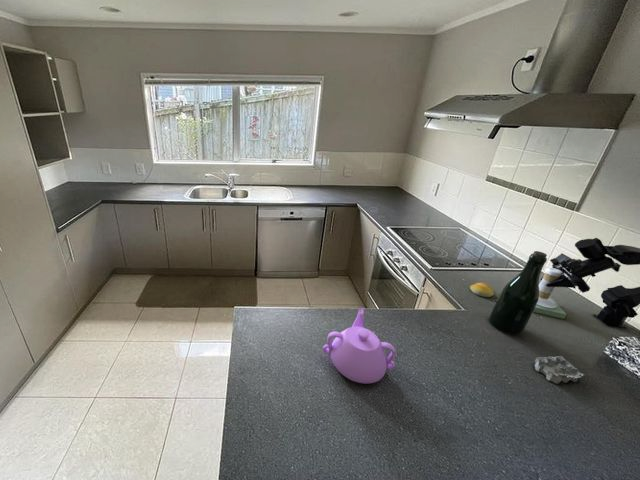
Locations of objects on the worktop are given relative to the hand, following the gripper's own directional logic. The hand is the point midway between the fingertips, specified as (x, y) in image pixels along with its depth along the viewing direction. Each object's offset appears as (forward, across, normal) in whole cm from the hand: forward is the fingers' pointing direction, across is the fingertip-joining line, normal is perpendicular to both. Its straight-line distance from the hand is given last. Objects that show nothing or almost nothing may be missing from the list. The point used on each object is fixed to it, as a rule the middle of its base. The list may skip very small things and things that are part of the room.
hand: (543, 282), depth 119 cm
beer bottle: (+20, +22, -4) cm, 30 cm away
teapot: (+57, +64, -42) cm, 96 cm away
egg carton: (+15, +42, +1) cm, 45 cm away
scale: (+8, 0, +9) cm, 12 cm away
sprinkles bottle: (+4, 0, +6) cm, 7 cm away
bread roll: (+22, -1, -5) cm, 22 cm away
